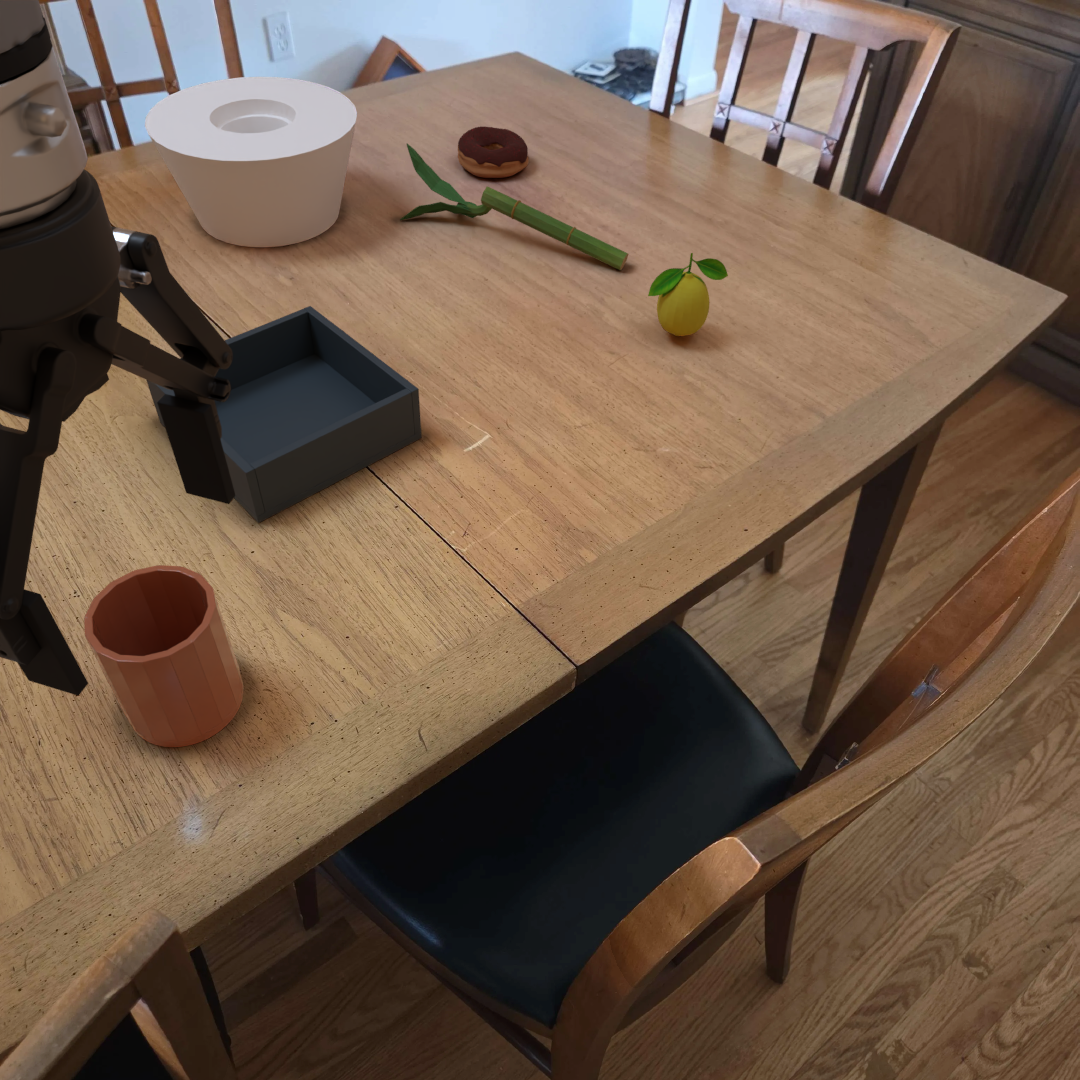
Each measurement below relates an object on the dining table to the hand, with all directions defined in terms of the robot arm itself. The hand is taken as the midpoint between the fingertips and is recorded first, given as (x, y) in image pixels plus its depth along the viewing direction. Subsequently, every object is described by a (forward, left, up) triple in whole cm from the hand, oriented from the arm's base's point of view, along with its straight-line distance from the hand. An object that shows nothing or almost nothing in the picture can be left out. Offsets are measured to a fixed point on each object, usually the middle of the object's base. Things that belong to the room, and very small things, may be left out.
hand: (142, 579), depth 48 cm
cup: (+1, +7, -20) cm, 21 cm away
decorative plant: (+64, +42, -20) cm, 79 cm away
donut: (+75, +59, -20) cm, 98 cm away
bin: (+23, +28, -20) cm, 42 cm away
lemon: (+64, +15, -20) cm, 69 cm away
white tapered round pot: (+44, +66, -20) cm, 82 cm away
